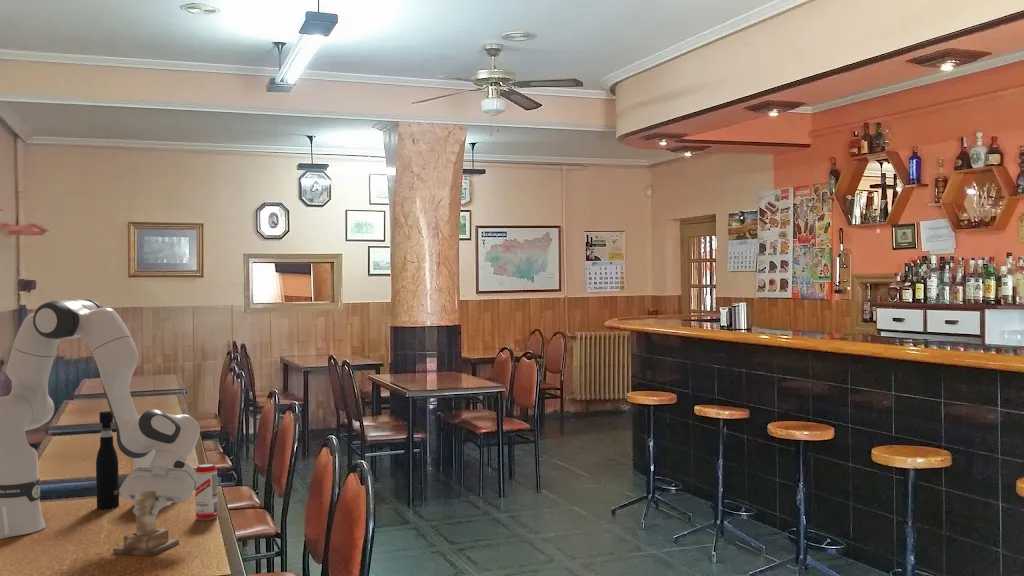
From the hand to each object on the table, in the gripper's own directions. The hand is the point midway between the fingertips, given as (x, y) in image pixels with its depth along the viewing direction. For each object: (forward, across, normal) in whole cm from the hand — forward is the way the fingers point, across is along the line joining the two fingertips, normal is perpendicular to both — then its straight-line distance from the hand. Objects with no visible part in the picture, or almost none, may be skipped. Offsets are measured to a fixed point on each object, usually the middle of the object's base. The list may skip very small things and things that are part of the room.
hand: (144, 513), depth 240 cm
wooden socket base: (+6, 0, +7) cm, 9 cm away
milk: (-26, -28, +40) cm, 55 cm away
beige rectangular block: (+4, 0, +5) cm, 7 cm away
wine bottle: (-19, -40, +32) cm, 55 cm away
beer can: (-15, -1, +29) cm, 32 cm away
